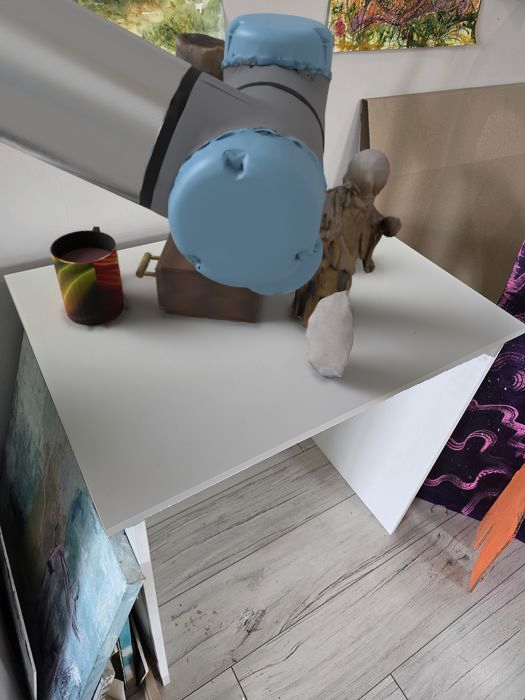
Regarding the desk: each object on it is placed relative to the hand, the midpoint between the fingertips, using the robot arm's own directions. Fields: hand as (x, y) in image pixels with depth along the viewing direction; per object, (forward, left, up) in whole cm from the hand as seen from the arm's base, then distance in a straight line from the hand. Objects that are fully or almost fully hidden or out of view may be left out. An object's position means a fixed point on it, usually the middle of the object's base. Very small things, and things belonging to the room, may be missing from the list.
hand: (200, 107), depth 66 cm
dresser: (+2, +1, -32) cm, 32 cm away
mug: (-19, -4, -32) cm, 37 cm away
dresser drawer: (-2, +1, -31) cm, 31 cm away
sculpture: (+22, -1, -32) cm, 39 cm away
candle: (+2, -5, -11) cm, 12 cm away
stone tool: (+21, -15, -32) cm, 41 cm away
